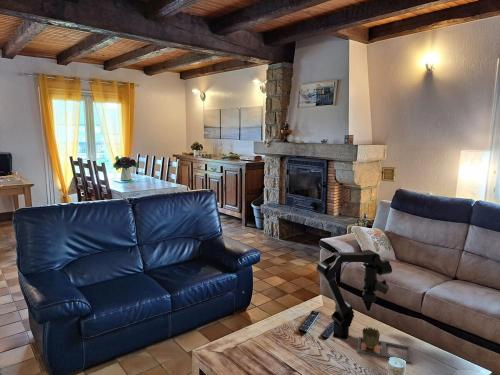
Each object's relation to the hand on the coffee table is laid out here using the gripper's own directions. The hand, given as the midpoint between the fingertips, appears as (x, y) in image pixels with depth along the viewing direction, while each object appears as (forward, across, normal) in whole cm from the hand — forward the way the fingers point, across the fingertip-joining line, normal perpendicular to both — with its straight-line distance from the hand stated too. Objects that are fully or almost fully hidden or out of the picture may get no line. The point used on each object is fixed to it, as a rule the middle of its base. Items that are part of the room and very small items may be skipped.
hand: (368, 306), depth 174 cm
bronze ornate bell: (+12, -16, -2) cm, 20 cm away
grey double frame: (+12, -16, -8) cm, 21 cm away
